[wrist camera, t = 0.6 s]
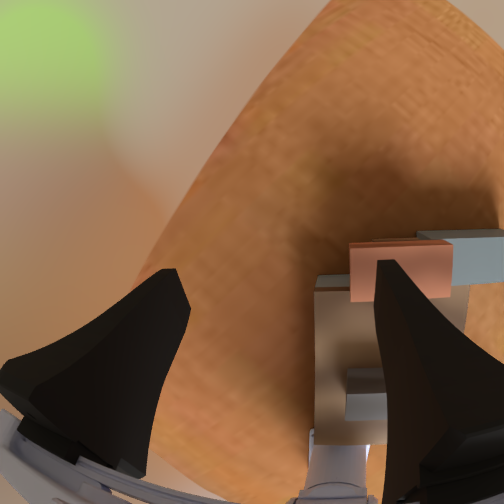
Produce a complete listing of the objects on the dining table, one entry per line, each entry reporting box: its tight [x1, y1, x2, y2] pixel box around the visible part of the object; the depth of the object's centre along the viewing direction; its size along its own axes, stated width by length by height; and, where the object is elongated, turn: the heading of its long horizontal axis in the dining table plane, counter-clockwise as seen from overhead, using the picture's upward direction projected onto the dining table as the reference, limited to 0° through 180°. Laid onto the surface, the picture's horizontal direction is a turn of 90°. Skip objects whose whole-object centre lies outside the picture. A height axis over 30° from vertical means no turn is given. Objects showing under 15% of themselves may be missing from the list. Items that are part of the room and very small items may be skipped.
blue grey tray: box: [315, 229, 504, 287], centre depth 26 cm, size 22×20×5 cm
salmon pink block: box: [349, 240, 453, 302], centre depth 22 cm, size 4×8×2 cm, turn 97°
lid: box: [314, 238, 470, 445], centre depth 24 cm, size 22×14×6 cm, turn 7°
